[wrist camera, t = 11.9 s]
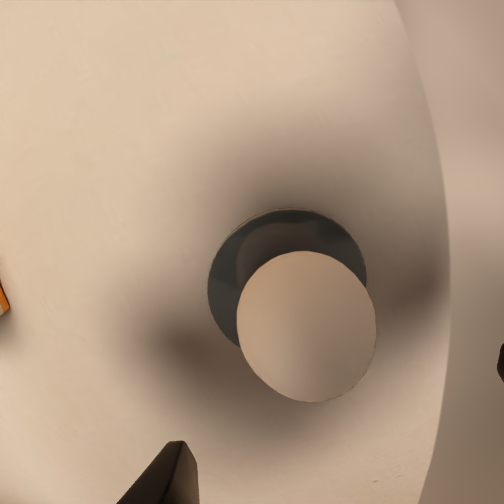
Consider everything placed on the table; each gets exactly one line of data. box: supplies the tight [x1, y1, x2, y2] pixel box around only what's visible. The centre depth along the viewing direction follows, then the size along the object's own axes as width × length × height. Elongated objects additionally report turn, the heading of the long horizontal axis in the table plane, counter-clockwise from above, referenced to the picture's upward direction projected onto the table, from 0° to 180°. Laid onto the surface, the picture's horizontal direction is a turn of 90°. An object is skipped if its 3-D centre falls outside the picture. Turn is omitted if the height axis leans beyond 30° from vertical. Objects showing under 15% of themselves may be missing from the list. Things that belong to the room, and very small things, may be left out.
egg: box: [237, 251, 376, 402], centre depth 12 cm, size 5×5×7 cm
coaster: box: [208, 208, 366, 348], centre depth 16 cm, size 8×8×1 cm
